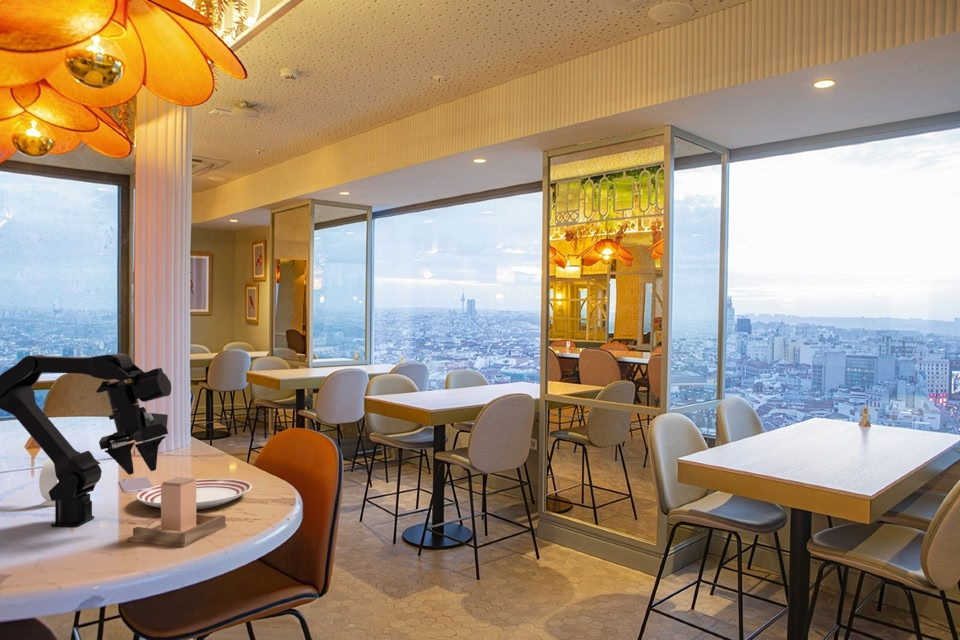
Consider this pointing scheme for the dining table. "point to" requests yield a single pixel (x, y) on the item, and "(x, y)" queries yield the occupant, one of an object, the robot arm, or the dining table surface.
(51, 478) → the headphone stand
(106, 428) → the dining table surface
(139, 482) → the mobile phone
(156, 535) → the square wooden tray
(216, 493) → the dinner plate
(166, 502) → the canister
